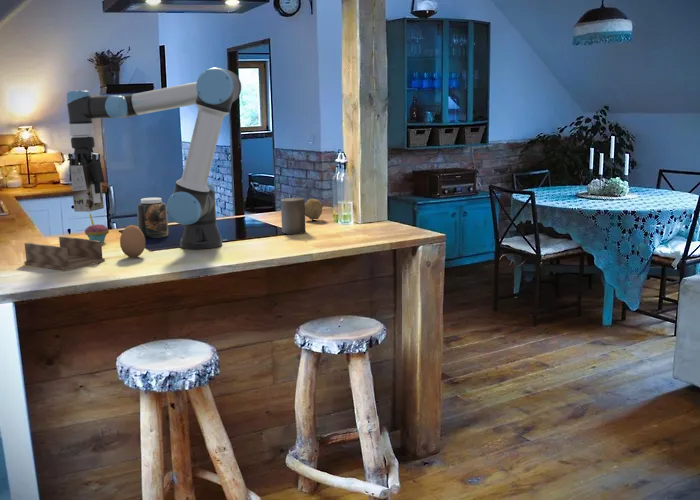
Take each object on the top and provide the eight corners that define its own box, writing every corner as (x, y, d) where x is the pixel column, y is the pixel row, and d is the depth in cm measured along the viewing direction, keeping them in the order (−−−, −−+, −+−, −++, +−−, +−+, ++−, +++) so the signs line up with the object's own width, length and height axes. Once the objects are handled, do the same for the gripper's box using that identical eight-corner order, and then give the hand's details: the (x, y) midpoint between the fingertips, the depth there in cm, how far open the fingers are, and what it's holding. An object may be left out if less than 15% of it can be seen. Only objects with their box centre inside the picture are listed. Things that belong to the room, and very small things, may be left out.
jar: (132, 237, 281) (129, 200, 278) (150, 232, 291) (148, 196, 288) (156, 239, 276) (154, 201, 273) (174, 234, 287) (172, 197, 284)
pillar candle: (310, 231, 289) (309, 195, 286) (296, 235, 281) (294, 197, 278) (291, 230, 294) (290, 194, 291) (276, 233, 286) (275, 196, 283)
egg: (122, 261, 237) (120, 227, 235) (119, 256, 244) (117, 224, 242) (148, 258, 240) (145, 225, 238) (144, 254, 247) (142, 222, 245)
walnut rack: (104, 261, 237) (103, 240, 235) (63, 270, 223) (61, 249, 222) (65, 255, 247) (63, 235, 245) (24, 264, 233) (22, 243, 232)
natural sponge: (300, 222, 313) (300, 199, 311) (305, 219, 322) (304, 197, 320) (320, 222, 312) (320, 199, 310) (324, 219, 320) (324, 197, 318)
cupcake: (87, 245, 265) (84, 214, 262) (84, 242, 272) (81, 211, 270) (111, 243, 268) (108, 212, 266) (107, 240, 276) (105, 209, 274)
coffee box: (90, 211, 243) (85, 164, 240) (73, 211, 245) (69, 165, 241) (104, 208, 252) (100, 162, 249) (88, 208, 253) (84, 163, 250)
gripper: (111, 135, 241) (117, 202, 246) (71, 136, 252) (78, 199, 256) (93, 136, 235) (100, 204, 239) (53, 137, 245) (60, 202, 250)
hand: (88, 202), depth 248 cm, fingers closed on coffee box, 8 cm apart
